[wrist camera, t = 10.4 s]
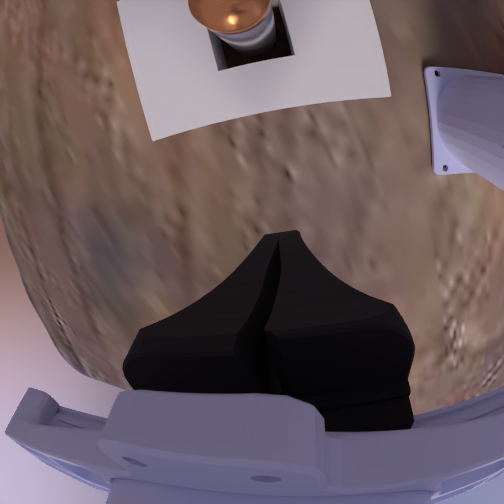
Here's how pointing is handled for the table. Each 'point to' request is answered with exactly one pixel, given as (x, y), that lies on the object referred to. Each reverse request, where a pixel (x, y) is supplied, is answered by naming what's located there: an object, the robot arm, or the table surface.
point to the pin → (238, 23)
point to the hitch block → (254, 74)
